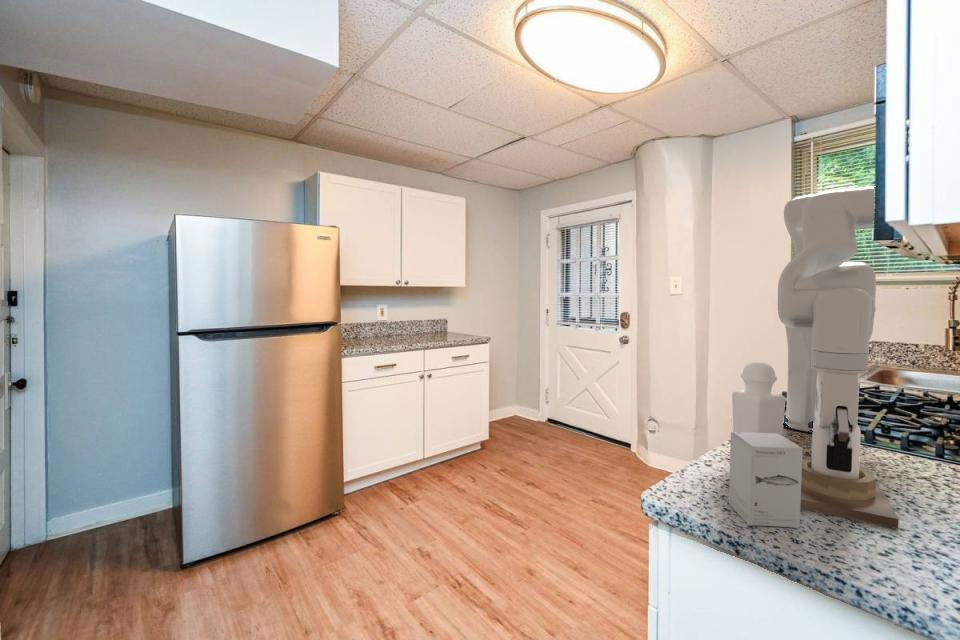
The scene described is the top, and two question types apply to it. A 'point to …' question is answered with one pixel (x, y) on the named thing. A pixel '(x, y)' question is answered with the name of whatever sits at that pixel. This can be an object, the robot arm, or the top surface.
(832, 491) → the mount board
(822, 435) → the can
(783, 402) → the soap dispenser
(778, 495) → the supplement box
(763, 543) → the top surface
